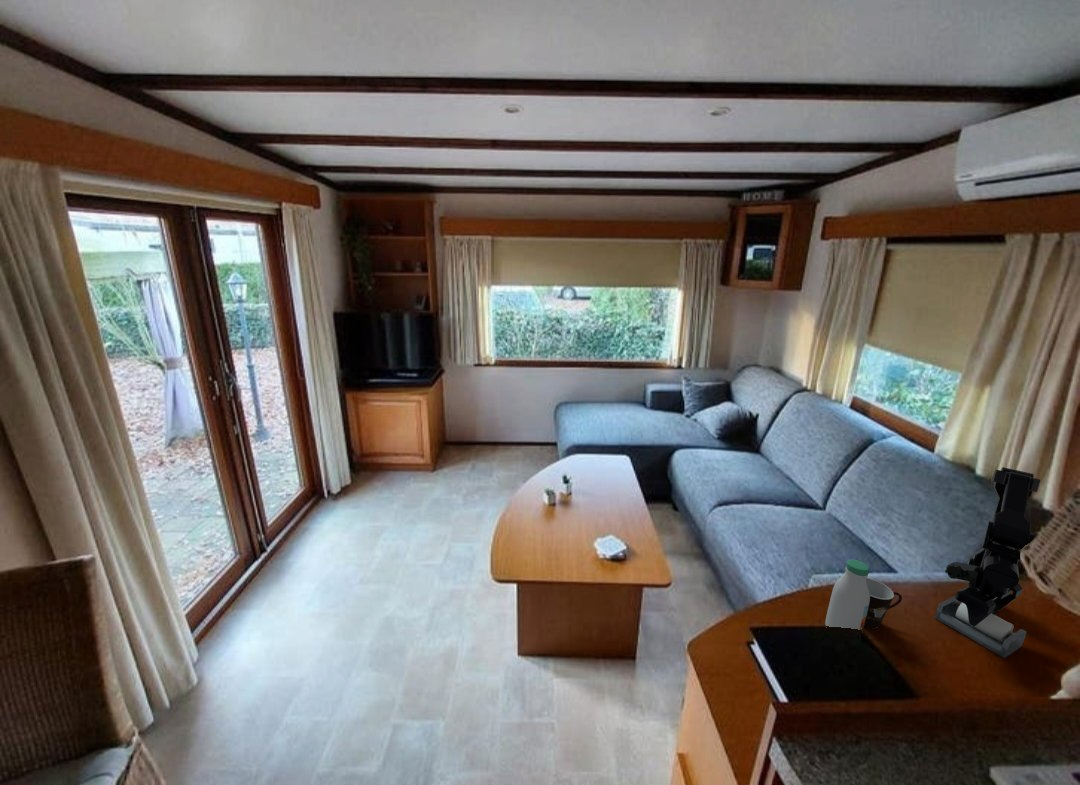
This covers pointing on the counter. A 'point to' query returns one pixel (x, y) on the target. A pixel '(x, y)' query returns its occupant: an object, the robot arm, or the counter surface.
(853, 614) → the milk bottle
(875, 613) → the coffee mug
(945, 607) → the cradle holder
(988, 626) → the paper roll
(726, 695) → the counter surface
